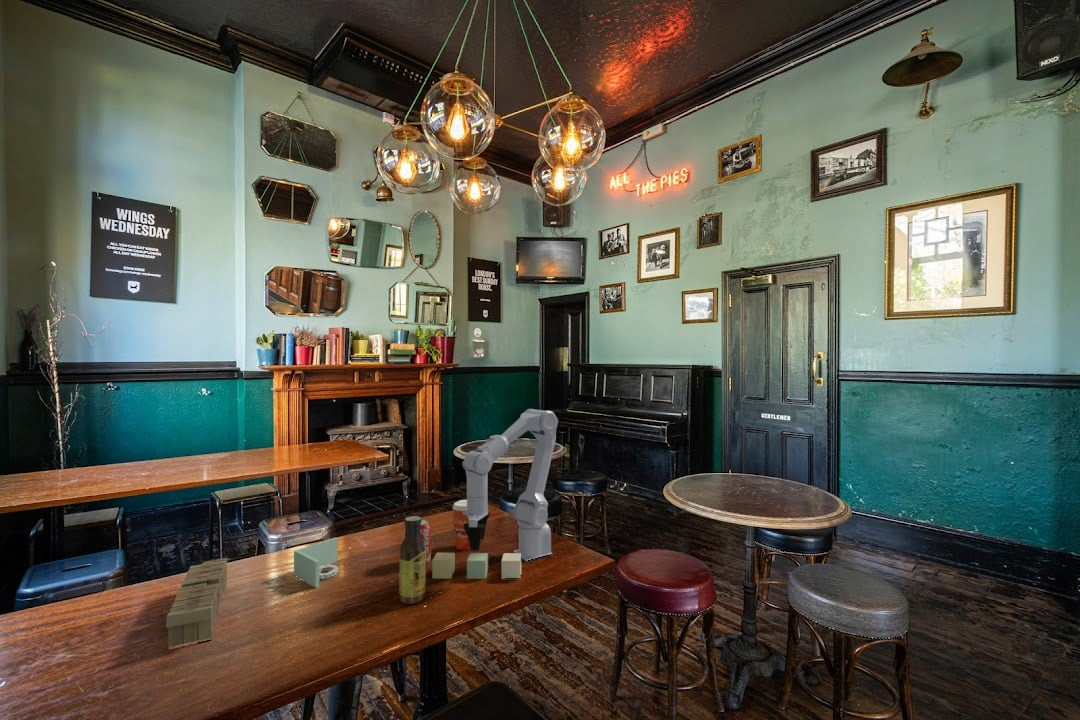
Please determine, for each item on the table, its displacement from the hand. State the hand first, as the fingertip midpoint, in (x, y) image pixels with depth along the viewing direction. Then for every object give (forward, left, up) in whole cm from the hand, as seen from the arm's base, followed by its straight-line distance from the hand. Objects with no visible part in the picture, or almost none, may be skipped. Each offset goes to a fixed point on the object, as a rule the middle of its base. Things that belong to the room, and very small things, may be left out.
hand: (477, 544), depth 128 cm
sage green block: (0, 0, -8) cm, 8 cm away
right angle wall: (+36, -22, -9) cm, 43 cm away
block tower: (+64, -14, -9) cm, 66 cm away
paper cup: (-4, -20, -8) cm, 22 cm away
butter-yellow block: (+8, -5, -8) cm, 13 cm away
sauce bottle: (+19, +4, -8) cm, 21 cm away
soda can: (+12, -16, -8) cm, 22 cm away
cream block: (-8, +5, -8) cm, 13 cm away
